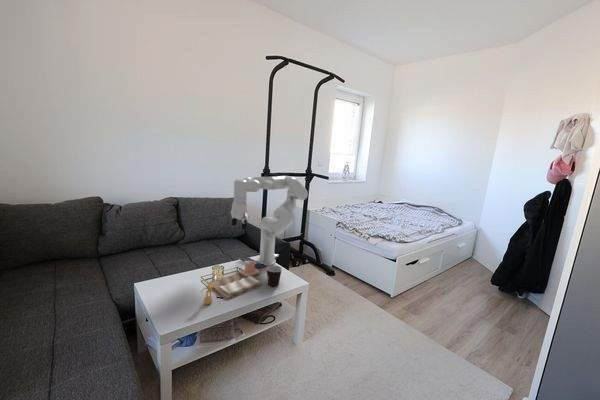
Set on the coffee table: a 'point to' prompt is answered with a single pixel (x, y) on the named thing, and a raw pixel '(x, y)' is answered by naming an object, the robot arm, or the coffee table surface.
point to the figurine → (208, 298)
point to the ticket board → (235, 285)
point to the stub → (249, 269)
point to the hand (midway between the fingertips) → (239, 227)
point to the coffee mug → (273, 275)
